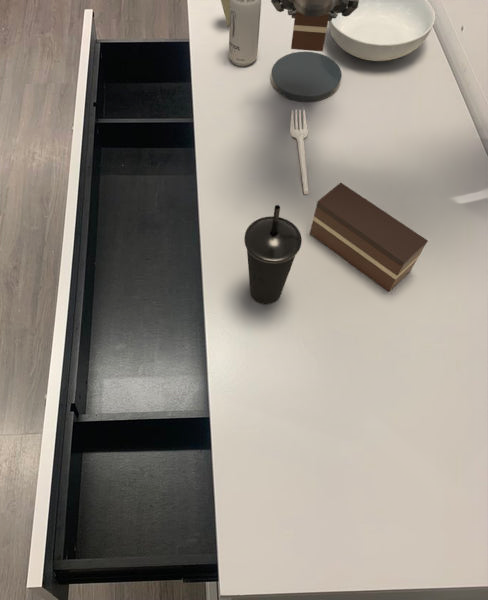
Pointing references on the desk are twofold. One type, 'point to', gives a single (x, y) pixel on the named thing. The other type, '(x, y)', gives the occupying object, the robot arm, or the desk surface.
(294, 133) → the fork
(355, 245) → the loaf cake
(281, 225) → the drinking cup
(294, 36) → the cake slice
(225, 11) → the ice cream cone
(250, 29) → the energy drink can
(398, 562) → the desk surface
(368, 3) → the serving bowl
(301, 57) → the plate
